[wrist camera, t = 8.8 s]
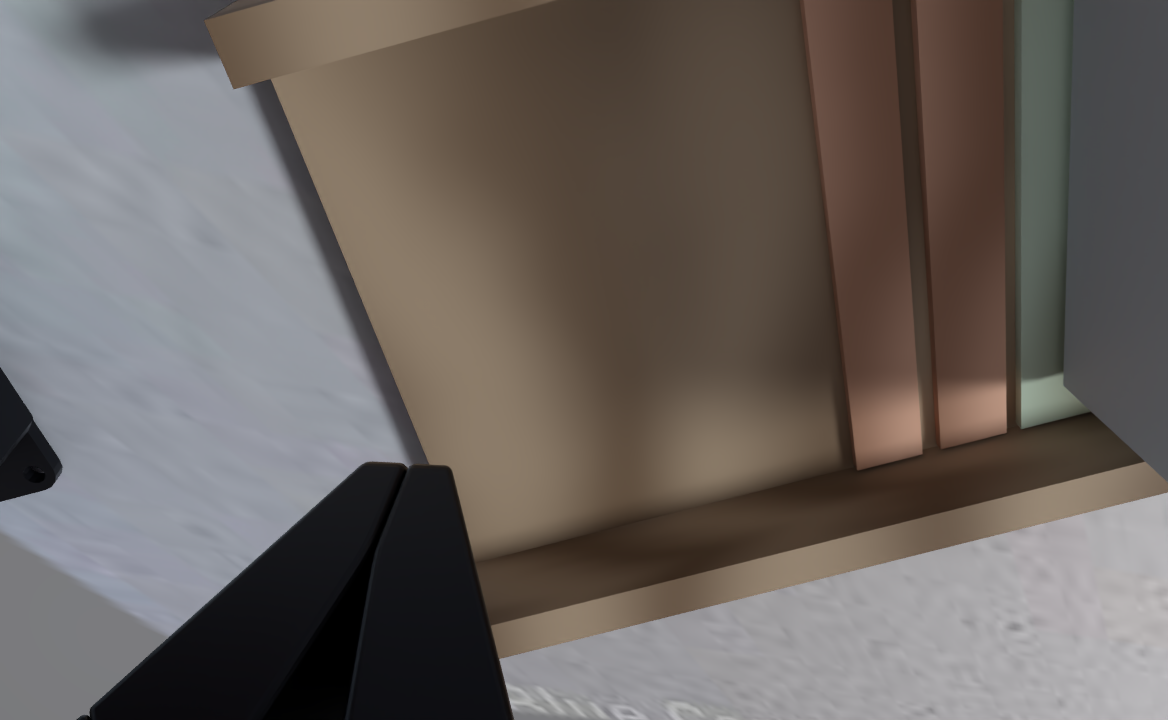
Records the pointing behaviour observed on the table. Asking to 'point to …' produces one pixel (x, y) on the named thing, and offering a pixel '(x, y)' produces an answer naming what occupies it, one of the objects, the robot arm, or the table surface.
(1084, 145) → the grey block
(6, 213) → the table surface
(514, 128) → the box
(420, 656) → the robot arm
